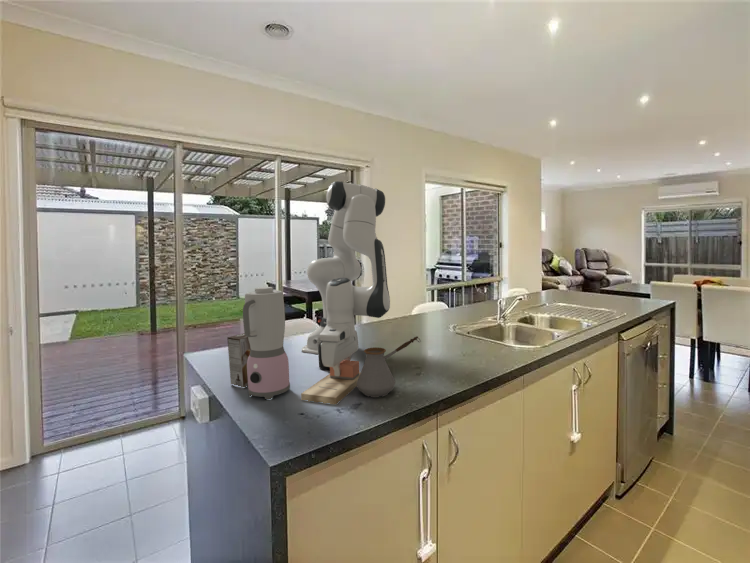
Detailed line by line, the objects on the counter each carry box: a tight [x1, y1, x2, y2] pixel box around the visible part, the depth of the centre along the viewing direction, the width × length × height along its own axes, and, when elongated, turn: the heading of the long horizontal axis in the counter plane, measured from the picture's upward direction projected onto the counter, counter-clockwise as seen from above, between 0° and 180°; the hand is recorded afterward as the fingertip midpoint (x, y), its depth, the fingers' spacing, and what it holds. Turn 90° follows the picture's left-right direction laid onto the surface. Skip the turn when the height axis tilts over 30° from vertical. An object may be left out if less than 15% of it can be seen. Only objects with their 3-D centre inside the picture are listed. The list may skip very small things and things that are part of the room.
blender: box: [242, 286, 291, 400], centre depth 117 cm, size 16×12×32 cm
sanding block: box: [329, 360, 360, 380], centre depth 126 cm, size 8×5×4 cm, turn 70°
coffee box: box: [227, 332, 251, 387], centre depth 128 cm, size 9×6×16 cm
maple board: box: [300, 371, 361, 405], centre depth 122 cm, size 11×22×2 cm, turn 160°
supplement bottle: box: [317, 340, 330, 371], centre depth 143 cm, size 7×7×12 cm
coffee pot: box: [356, 336, 422, 398], centre depth 119 cm, size 21×12×15 cm, turn 117°
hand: (342, 372), depth 127 cm, fingers closed on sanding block, 5 cm apart
